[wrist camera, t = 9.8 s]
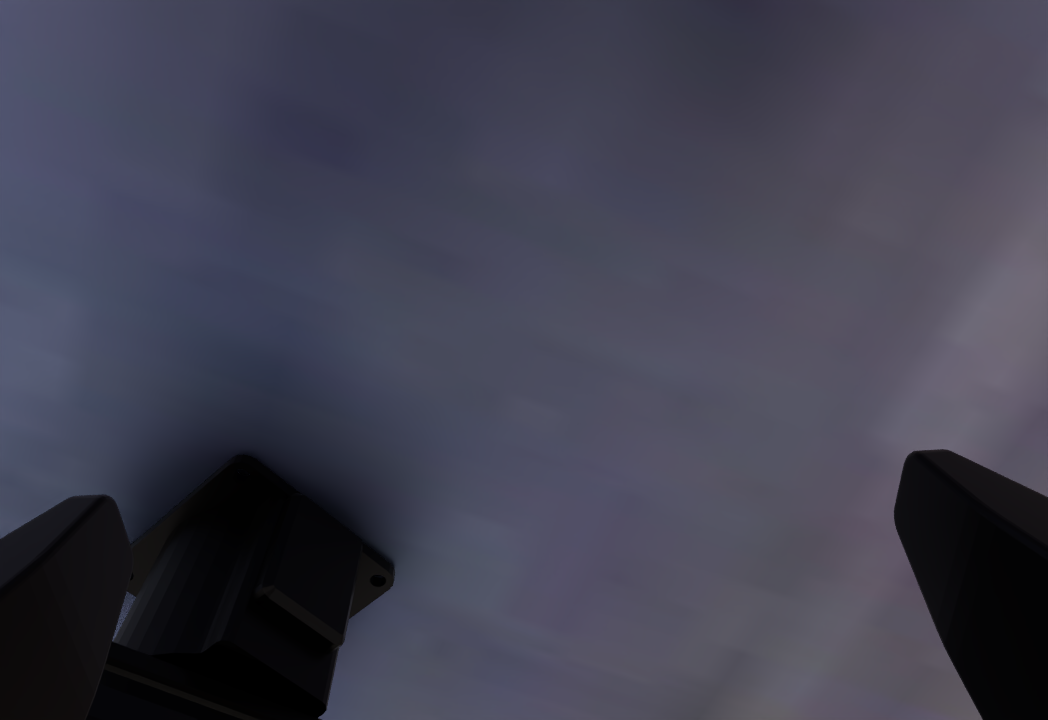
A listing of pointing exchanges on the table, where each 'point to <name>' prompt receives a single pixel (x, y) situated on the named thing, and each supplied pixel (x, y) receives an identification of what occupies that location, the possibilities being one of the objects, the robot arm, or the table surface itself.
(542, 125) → the table surface
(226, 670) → the robot arm
